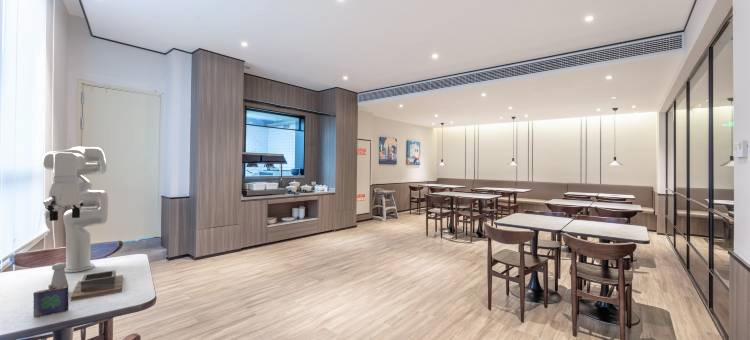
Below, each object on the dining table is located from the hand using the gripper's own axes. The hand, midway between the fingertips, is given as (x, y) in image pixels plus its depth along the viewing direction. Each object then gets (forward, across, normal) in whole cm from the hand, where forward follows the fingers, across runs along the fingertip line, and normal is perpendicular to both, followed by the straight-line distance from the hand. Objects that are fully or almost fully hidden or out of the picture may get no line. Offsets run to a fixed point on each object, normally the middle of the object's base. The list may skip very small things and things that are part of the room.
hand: (65, 219), depth 145 cm
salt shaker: (+31, +5, +3) cm, 32 cm away
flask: (+32, +22, +18) cm, 43 cm away
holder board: (+31, -2, +14) cm, 34 cm away
